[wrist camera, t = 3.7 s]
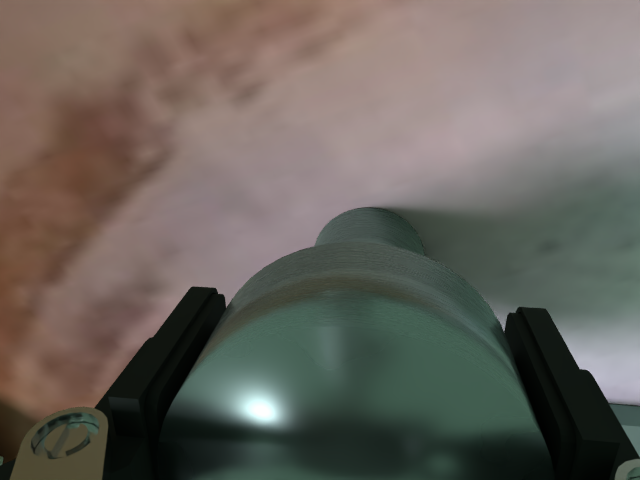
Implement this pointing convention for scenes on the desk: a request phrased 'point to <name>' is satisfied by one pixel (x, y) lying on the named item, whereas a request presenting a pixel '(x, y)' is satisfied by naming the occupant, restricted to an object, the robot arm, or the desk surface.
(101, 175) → the desk surface
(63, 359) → the desk surface
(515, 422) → the steel pin
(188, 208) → the desk surface
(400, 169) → the desk surface
